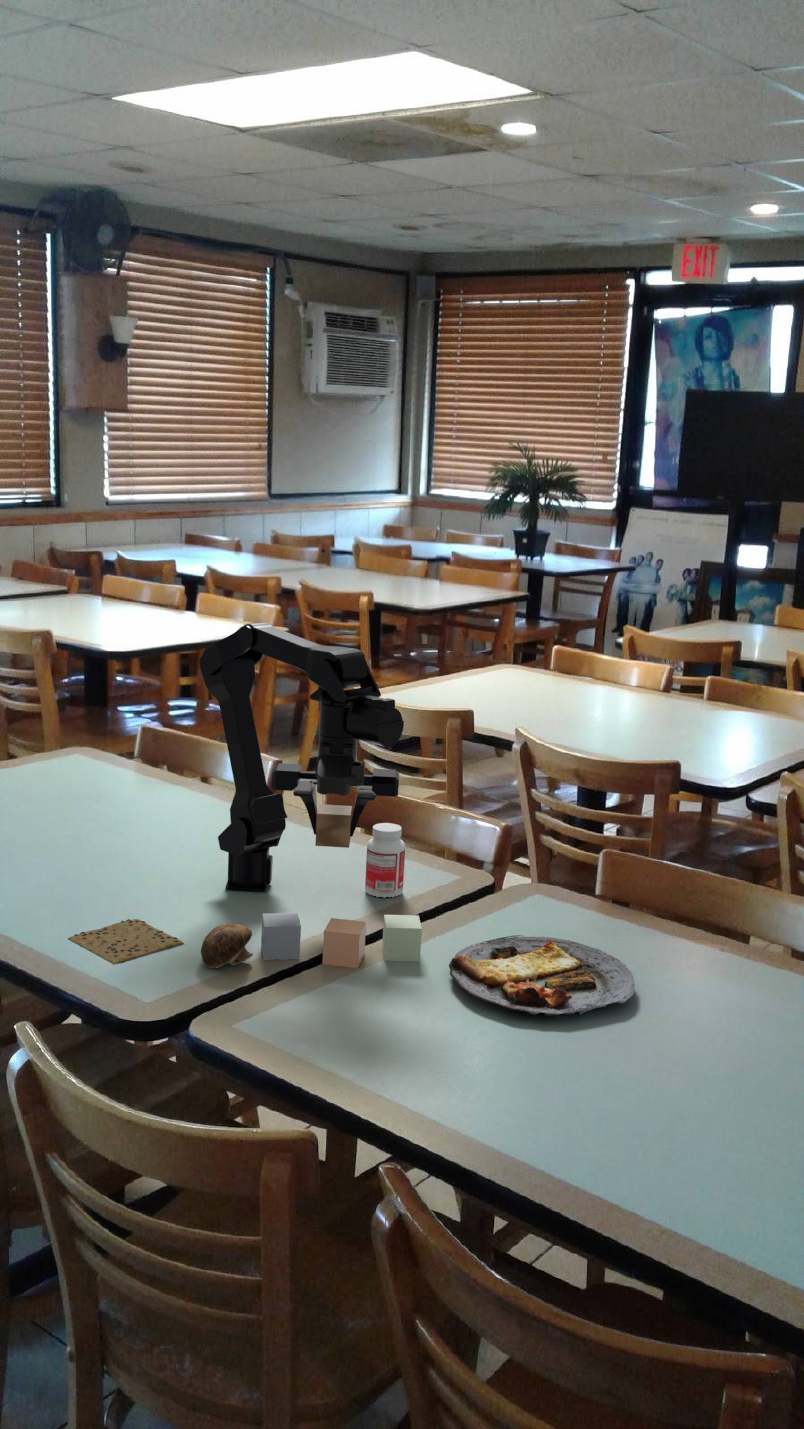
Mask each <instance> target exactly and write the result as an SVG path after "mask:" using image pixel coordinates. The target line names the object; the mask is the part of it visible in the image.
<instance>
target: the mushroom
mask: <svg viewBox="0 0 804 1429" xmlns="http://www.w3.org/2000/svg"><path fill="white" fill-rule="evenodd" d="M252 936H253V932H252V929H251V928H249V927H248V926H245V925H244V924H241V923H239V924H238V923H233V922H228V923H224V924H221V925H217V926H216V927H214V928H212V929H211V930H210V932H209V933H208V934H207V935H206V936H205V937H204V939H203V942H202V944H201V948H200V953H201V954H200V955H201V959H202V962H203V964H204V966H205V967H206V968H209V969H218V968H220V967H222V966H224V965H226V964H231V965H232V966H236V965H239V964H241V963H243V962H245V961H246V960H248V959H250V958H251V957H253V956H254V953H252V952H250V951H248V949H246V946H247V944H248V943H249V942H250V940H251V938H252Z"/></svg>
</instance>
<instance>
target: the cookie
mask: <svg viewBox="0 0 804 1429" xmlns="http://www.w3.org/2000/svg"><path fill="white" fill-rule="evenodd" d="M67 940H68V941H70V942H72V943H74V944H76V945H77V946H79V947H81V948H83V949H84V950H85V949H86V950H87V951H89V952H91V953H92V954H94V955H95V956H97V957H100V958H101V959H103V960H105V961H106V962H108V963H111V965H118V964H124V963H125V962H129V961H132V960H135V959H138V958H142V957H146V956H149V955H152V954H155V953H160V952H163V951H166V950H169V949H172V948H177V947H179V946H180V947H181V946H183V945H185V942H183V941H182V940H181V939H179V938H177V937H176V936H172V935H170V934H168V933H166V932H164V930H160V929H158V928H155V927H154V926H152V925H150V924H148V923H146V921H145V920H141V919H138V918H134V919H130V918H128V919H126V920H121V921H120V922H116V923H114V924H110V925H107V926H104V927H101V928H96V929H92V930H88V931H81V932H79V933H78V934H77V933H75V934H74V935H72V936H69V937H68V938H67Z"/></svg>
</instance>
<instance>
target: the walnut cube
mask: <svg viewBox="0 0 804 1429" xmlns="http://www.w3.org/2000/svg"><path fill="white" fill-rule="evenodd" d="M352 815H353V806H352V805H341V804H340V805H339V804H323V803H322V804H318V806H317V821H316V835H315V845H314V846H315V847H328V848H331V847H332V848H345V849H347V848H350V843H351V838H352V837H350V826H351V821H352Z"/></svg>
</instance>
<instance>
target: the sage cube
mask: <svg viewBox="0 0 804 1429" xmlns="http://www.w3.org/2000/svg"><path fill="white" fill-rule="evenodd" d="M420 919H421V918H420V915H417V914H416V915H413V914H410V915H408V914H402V915H401V914H384V915H383V928H382V943H381V944H382V945H381V947H382V948H381V949H382V953H383V954H382V955H383V959H384V962H388V961H389V962H419V963H420V962H421V951H422V950H421V948H422V933H423V928H422V924H421V920H420Z"/></svg>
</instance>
